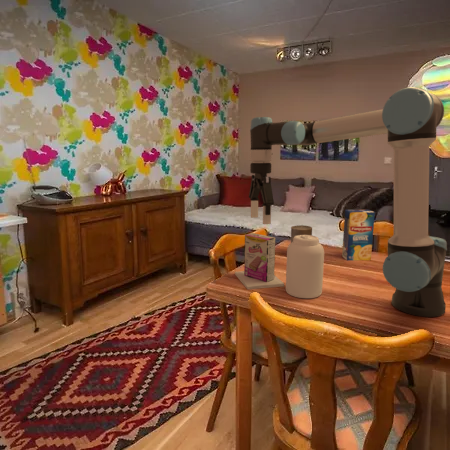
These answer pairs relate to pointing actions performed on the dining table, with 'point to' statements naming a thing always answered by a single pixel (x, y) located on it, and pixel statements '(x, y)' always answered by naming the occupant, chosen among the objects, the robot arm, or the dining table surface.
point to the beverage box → (358, 235)
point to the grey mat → (257, 281)
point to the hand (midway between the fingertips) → (260, 220)
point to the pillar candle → (300, 231)
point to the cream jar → (304, 267)
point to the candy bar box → (259, 257)
